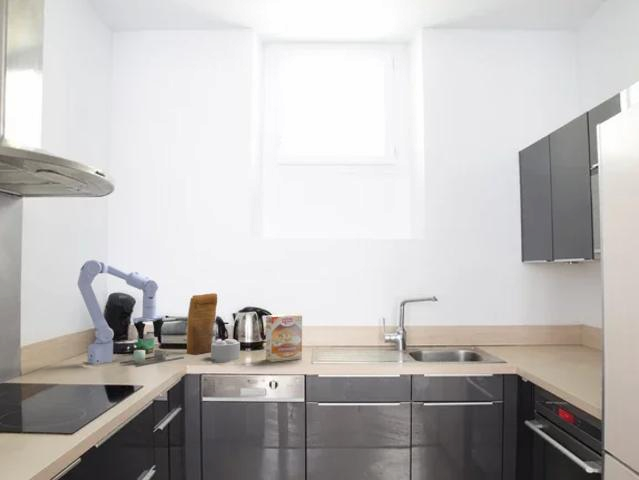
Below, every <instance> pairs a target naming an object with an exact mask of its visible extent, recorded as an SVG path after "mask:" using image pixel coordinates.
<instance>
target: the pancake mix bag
mask: <svg viewBox="0 0 639 480" xmlns="http://www.w3.org/2000/svg"><path fill="white" fill-rule="evenodd" d="M217 304H218V294H217V293H205V294H197V295H192V297H191V298H190V302H189V307H188V311H187V325H186V332H187V333H186V335H187V336H186V355H190V356H196V355H197V356H198V355H202V354H206V353H211V344H212V343H213V337H214V336H213V335H214V323H215V321H216V316H217V315H216V314H217V313H216V312H217V311H216V310H217V306H218V305H217Z"/></svg>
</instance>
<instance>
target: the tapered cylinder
mask: <svg viewBox="0 0 639 480" xmlns="http://www.w3.org/2000/svg"><path fill="white" fill-rule="evenodd" d="M145 358H146V354H145V350H138V349H137V350H134V351H133V360H134V364H143V363H145Z"/></svg>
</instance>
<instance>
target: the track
mask: <svg viewBox="0 0 639 480" xmlns="http://www.w3.org/2000/svg"><path fill="white" fill-rule="evenodd" d="M168 356H169V353H166V357H168ZM153 358H154V355H152V356H147V357H146V356H145V360H147V359H153ZM182 359H185V357H184V356H177V357H172V358H167V359H166V360H160V361H155V362H149V363H143V364H138V365H136V366H135V367H137V368H139V367H144V366H149V365H155V364H161V363H166V362H172V361H177V360H182ZM129 362H134V359H130V360H129V359H128V360H122V361H120V362H119V364H125V363H129Z"/></svg>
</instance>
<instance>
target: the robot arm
mask: <svg viewBox="0 0 639 480" xmlns="http://www.w3.org/2000/svg"><path fill="white" fill-rule="evenodd" d="M99 274H109V275H112V276H114V277H116V278H118V279H121V280H125V282H126V285H128V286H131V287H132V288H136V289H138V290H139V291H141V290H142V310H141V311H142V313H141V317H133V319H132V322H133V325H134V327H135V329H136V332H137V336H139V339H143V337H144V334H145V333H144V332H145V327H146V323H147V322H152V326H153V332H154V337H156V338H159V335H160V331H161V329H162V326H163V325H164V321H165V315H157V291H158V290H159V286H158V283H157V282H156V281H155V280H152V279H149V277H148V276H147V277H145V276H142V275H141V274H139V272H137V271H135V272H133V271H132V272H130V273H129V272H127V271H124V270H122V269H120V268H117V267H115V266H113V265H111V264H109V263H106V262H102V261H99V260H95V259H92V260H87V261H85V262H84V264H83V265H81V268H80V271H79V276H78V279H77V286H78V290H79V292H80V294H81V297H82V299H83V301H84V304H85V306H86V309H87V311H88V313H89V316H90V318H91V321H92V323H93V327H94V335H95V338H96V339H95V340H94V342H93V343H91V344H89V345H88V347H87V360H86V361H87V363H88V364H93V365H96V364H98V365H99V364H105V363H106V364H107V363H112V362H113V361H114V360H113V359H114V358H113V357H114V340H113V338H114V336H115V333H114V330H113V328H111V327H110V326H109V324H108V322H107V319H106V318H105V316H104V314H103V311H102V309H101V307H100V306H101V305H100V303H99V301H98V299H97V296H96V293H95V292H94V289H93V287H92V283H93V282H94V280H95V278H96V277H97V276H98V275H99Z"/></svg>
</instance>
